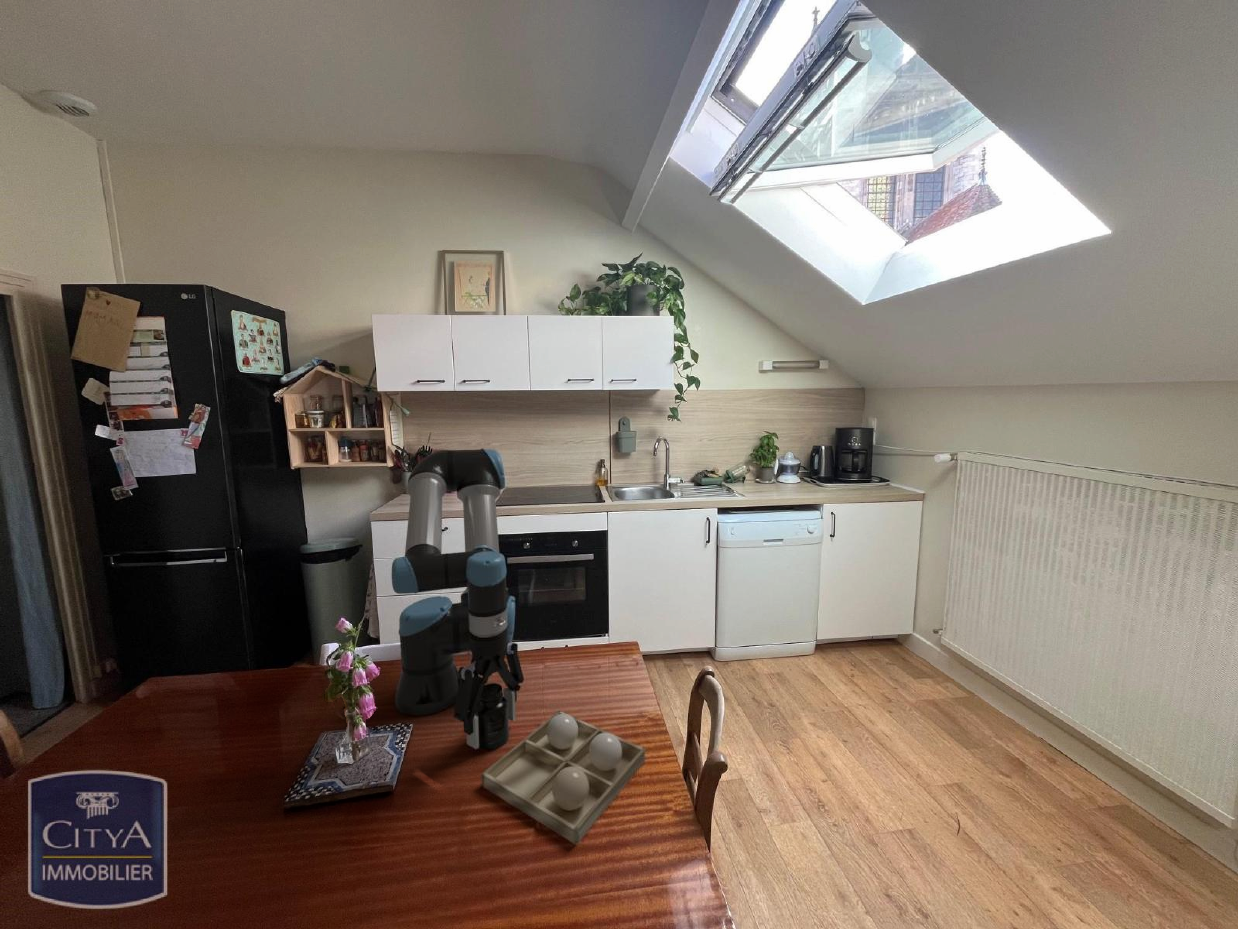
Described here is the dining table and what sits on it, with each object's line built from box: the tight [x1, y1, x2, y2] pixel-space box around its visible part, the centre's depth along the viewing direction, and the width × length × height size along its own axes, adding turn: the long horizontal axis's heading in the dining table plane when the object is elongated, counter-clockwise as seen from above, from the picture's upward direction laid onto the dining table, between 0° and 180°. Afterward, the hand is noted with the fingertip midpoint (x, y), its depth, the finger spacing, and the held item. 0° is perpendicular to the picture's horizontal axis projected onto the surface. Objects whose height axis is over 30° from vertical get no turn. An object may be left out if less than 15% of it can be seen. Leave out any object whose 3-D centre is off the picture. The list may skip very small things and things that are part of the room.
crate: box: [481, 710, 646, 846], centre depth 92 cm, size 22×22×4 cm
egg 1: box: [547, 713, 578, 750], centre depth 99 cm, size 6×6×6 cm
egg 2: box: [552, 767, 589, 811], centre depth 85 cm, size 6×6×6 cm
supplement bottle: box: [475, 682, 510, 751], centre depth 101 cm, size 7×7×12 cm
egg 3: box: [589, 732, 622, 771], centre depth 94 cm, size 6×6×6 cm
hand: (492, 731), depth 102 cm, fingers open, 9 cm apart
